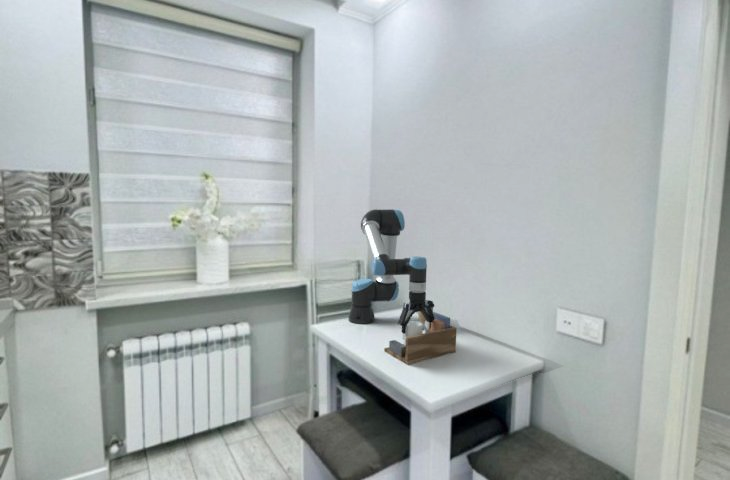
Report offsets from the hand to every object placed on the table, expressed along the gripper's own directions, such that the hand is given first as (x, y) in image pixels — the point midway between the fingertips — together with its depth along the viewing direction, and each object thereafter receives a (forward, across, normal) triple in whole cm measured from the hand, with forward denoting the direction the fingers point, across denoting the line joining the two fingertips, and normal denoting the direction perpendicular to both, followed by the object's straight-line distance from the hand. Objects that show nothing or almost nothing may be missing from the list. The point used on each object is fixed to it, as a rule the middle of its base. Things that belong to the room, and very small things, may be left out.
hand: (416, 337), depth 177 cm
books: (+5, +12, 0) cm, 13 cm away
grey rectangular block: (+5, -10, +1) cm, 11 cm away
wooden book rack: (+7, +2, 0) cm, 7 cm away
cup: (+4, 0, 0) cm, 4 cm away
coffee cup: (+6, +26, +24) cm, 36 cm away
